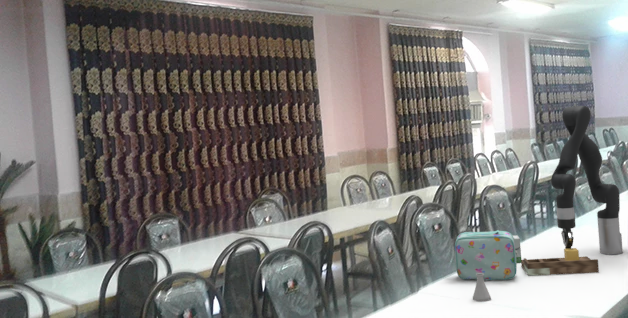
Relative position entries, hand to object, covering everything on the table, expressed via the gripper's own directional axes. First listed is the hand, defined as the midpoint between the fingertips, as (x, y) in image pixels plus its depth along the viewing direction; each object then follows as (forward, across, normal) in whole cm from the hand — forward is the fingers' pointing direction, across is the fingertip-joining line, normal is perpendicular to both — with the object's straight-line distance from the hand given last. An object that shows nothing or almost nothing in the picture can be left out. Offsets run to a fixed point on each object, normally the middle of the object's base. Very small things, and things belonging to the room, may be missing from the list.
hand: (568, 254), depth 273 cm
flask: (+4, -46, +43) cm, 64 cm away
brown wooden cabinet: (+5, -8, +6) cm, 11 cm away
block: (+2, -5, 0) cm, 5 cm away
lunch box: (+5, -17, +38) cm, 41 cm away
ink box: (+5, +12, +22) cm, 26 cm away
